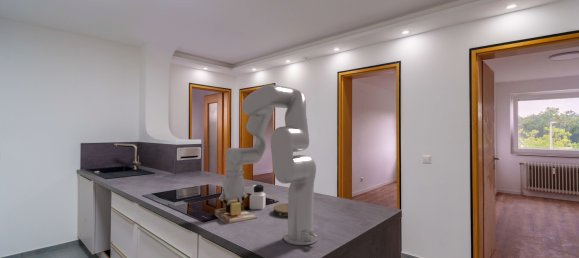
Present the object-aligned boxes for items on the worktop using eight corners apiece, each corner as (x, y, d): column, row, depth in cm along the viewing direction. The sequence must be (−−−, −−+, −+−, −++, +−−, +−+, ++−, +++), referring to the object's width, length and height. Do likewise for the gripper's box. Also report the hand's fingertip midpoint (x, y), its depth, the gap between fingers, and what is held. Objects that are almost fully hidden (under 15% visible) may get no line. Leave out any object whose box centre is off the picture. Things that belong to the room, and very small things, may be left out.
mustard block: (235, 210, 135) (235, 199, 135) (240, 213, 129) (241, 203, 129) (226, 211, 133) (226, 201, 133) (231, 215, 126) (232, 204, 126)
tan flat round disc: (311, 215, 134) (311, 209, 134) (283, 220, 126) (283, 213, 126) (294, 207, 147) (294, 201, 147) (268, 211, 139) (268, 205, 139)
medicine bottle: (265, 206, 149) (265, 183, 149) (262, 209, 142) (263, 186, 142) (252, 205, 150) (252, 183, 150) (249, 209, 142) (249, 186, 143)
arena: (257, 218, 128) (257, 212, 128) (226, 224, 119) (226, 218, 119) (242, 209, 141) (242, 205, 141) (214, 214, 133) (214, 209, 133)
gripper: (246, 171, 139) (246, 207, 138) (214, 174, 129) (213, 212, 129) (253, 173, 132) (253, 211, 132) (219, 176, 123) (219, 217, 123)
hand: (233, 211), depth 131 cm, fingers closed on mustard block, 4 cm apart
